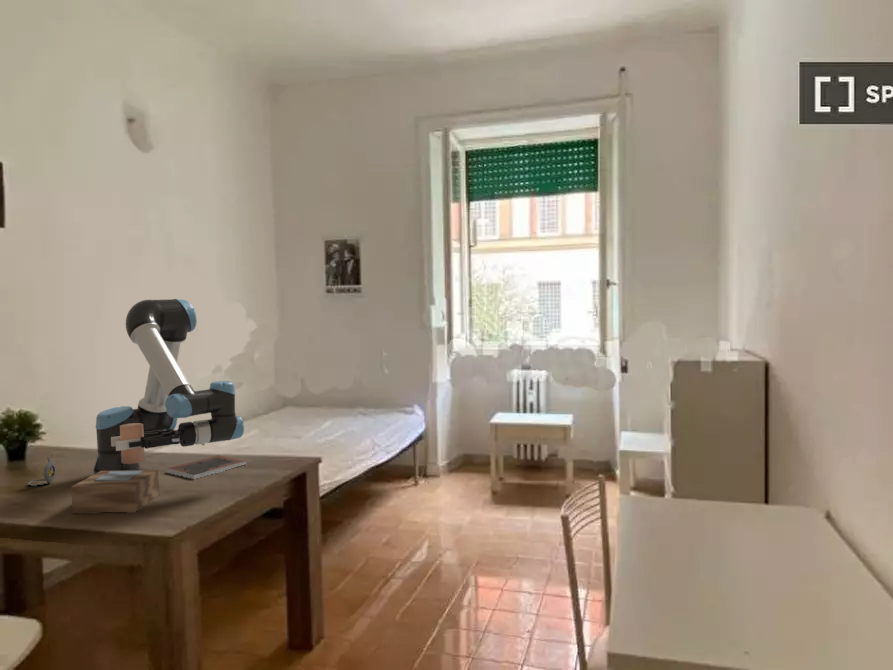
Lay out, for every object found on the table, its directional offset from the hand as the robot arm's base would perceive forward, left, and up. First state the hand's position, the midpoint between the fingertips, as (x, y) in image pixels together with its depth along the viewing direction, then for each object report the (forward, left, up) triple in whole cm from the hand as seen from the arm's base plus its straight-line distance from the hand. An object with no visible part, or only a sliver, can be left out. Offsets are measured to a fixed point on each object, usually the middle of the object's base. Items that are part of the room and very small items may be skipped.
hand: (113, 444), depth 194 cm
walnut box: (-2, -1, -19) cm, 19 cm away
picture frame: (-41, +13, -20) cm, 47 cm away
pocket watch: (-26, -37, -19) cm, 49 cm away
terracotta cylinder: (-3, +4, -6) cm, 8 cm away
